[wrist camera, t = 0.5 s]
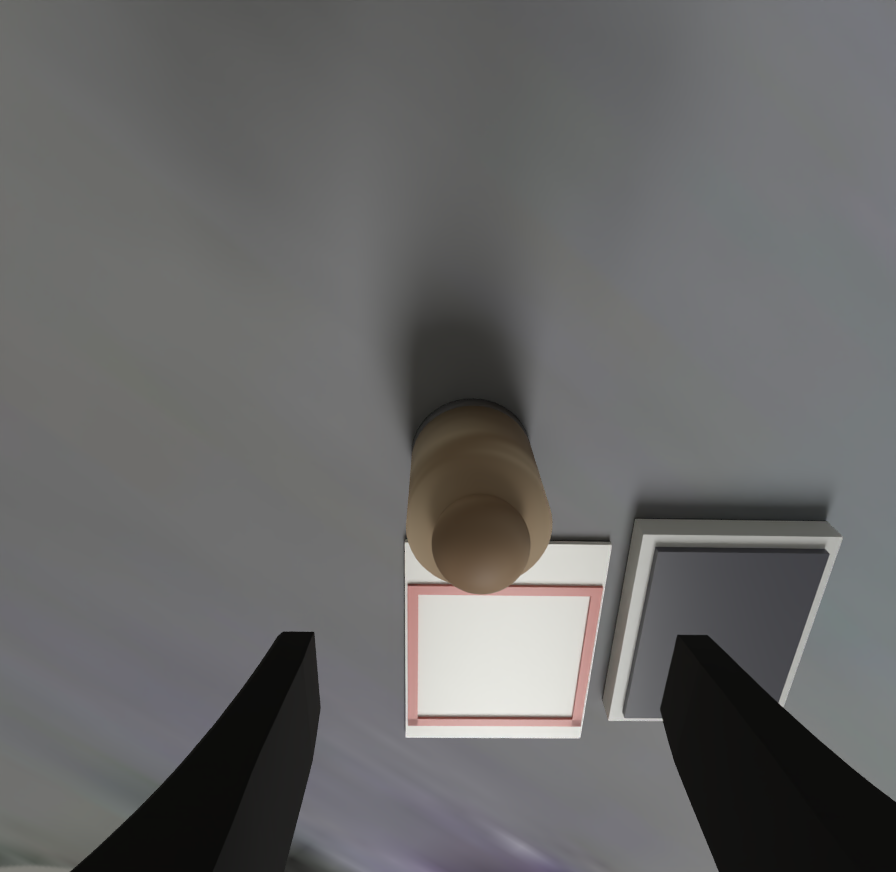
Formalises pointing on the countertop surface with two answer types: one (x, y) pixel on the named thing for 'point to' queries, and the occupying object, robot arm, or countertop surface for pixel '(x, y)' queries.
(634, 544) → the ink pad
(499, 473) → the stamp
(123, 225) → the countertop surface
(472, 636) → the sheet
